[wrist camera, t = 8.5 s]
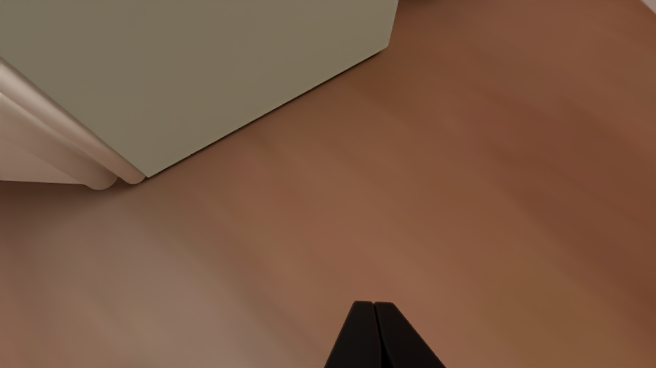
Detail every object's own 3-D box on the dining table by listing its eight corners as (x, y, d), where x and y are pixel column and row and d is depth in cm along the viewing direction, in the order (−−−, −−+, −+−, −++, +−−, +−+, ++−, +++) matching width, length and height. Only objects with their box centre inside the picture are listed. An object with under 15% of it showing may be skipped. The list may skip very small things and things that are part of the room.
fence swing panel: (128, 188, 19) (-141, 4, 8) (120, 170, 20) (-151, -30, 8) (387, 46, 23) (450, -220, 12) (376, 33, 23) (426, -236, 12)
